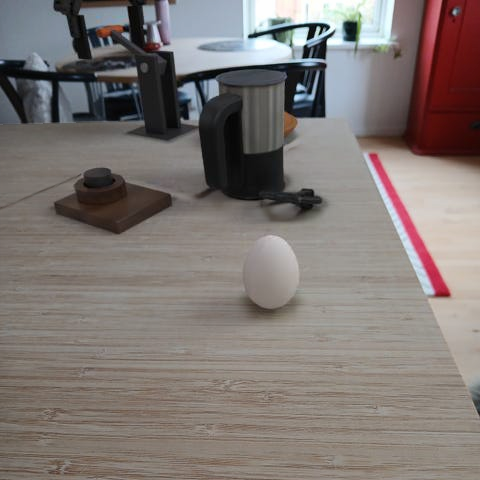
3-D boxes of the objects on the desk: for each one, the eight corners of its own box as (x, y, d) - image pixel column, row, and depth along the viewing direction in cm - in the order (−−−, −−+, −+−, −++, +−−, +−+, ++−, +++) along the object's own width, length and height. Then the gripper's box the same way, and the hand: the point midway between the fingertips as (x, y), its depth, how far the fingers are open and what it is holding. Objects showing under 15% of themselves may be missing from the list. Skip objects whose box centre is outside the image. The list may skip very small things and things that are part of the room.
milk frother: (235, 173, 78) (230, 66, 70) (338, 183, 74) (346, 70, 65) (196, 211, 68) (184, 91, 59) (313, 226, 63) (319, 98, 54)
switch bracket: (128, 138, 95) (114, 55, 86) (160, 125, 100) (150, 47, 92) (168, 147, 90) (158, 59, 82) (200, 133, 96) (193, 50, 87)
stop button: (80, 186, 68) (77, 174, 67) (100, 178, 70) (98, 165, 69) (99, 192, 66) (96, 179, 65) (119, 182, 69) (116, 170, 68)
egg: (309, 307, 49) (313, 238, 45) (266, 328, 47) (265, 258, 42) (275, 284, 53) (275, 218, 48) (233, 302, 50) (229, 235, 46)
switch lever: (95, 38, 89) (97, 24, 88) (116, 34, 93) (118, 20, 91) (150, 78, 87) (152, 65, 85) (169, 72, 90) (172, 59, 88)
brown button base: (56, 213, 69) (49, 189, 67) (110, 188, 75) (106, 165, 73) (119, 234, 63) (113, 208, 61) (172, 205, 70) (169, 180, 68)
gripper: (36, -106, 69) (73, 67, 82) (159, -102, 85) (174, 42, 98) (3, -102, 73) (44, 63, 86) (127, -99, 89) (145, 40, 102)
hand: (113, 52), depth 92 cm, fingers open, 12 cm apart
